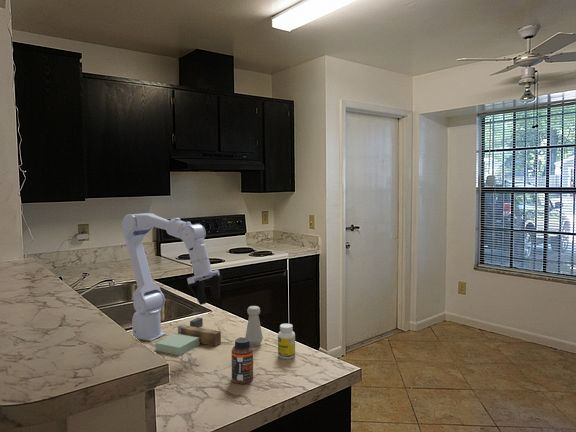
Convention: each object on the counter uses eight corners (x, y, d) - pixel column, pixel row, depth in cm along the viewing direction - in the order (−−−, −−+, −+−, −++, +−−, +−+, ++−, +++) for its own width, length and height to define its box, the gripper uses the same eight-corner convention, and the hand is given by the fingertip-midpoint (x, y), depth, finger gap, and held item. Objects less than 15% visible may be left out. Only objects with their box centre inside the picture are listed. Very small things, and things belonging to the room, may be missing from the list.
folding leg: (176, 338, 152) (175, 326, 151) (182, 335, 154) (181, 324, 154) (215, 345, 145) (215, 333, 144) (221, 342, 147) (220, 330, 147)
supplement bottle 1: (244, 386, 116) (243, 345, 115) (227, 381, 119) (226, 341, 118) (257, 378, 121) (257, 338, 120) (240, 373, 124) (240, 334, 123)
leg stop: (190, 329, 162) (190, 321, 162) (198, 325, 167) (198, 317, 166) (194, 329, 161) (194, 321, 161) (202, 325, 166) (202, 318, 166)
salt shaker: (260, 348, 142) (259, 309, 141) (243, 347, 144) (242, 308, 143) (264, 342, 148) (264, 304, 147) (248, 341, 149) (247, 304, 148)
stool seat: (155, 350, 142) (155, 342, 141) (175, 340, 151) (175, 333, 150) (180, 355, 137) (179, 347, 137) (199, 344, 146) (199, 337, 146)
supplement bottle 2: (274, 356, 136) (274, 325, 135) (286, 351, 140) (286, 321, 139) (287, 360, 132) (286, 329, 132) (298, 355, 136) (298, 325, 136)
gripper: (195, 261, 133) (206, 304, 132) (222, 254, 146) (232, 294, 145) (178, 266, 136) (188, 308, 135) (206, 259, 149) (215, 298, 148)
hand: (210, 301), depth 140 cm, fingers open, 7 cm apart
